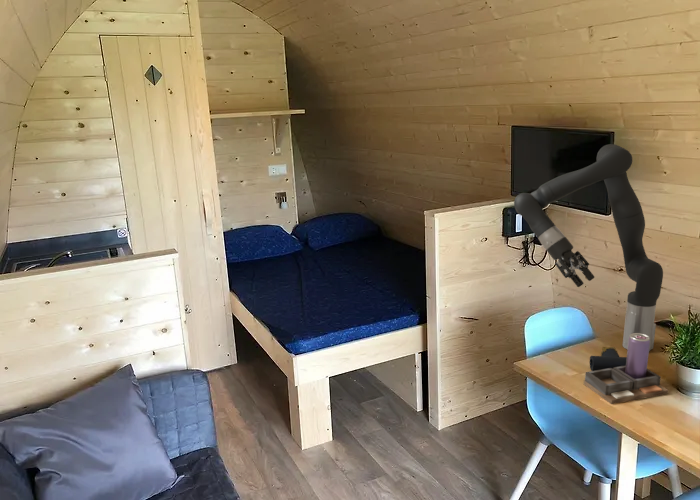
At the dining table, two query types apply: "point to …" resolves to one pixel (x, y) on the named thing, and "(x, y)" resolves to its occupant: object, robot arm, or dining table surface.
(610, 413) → the dining table surface
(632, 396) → the socket board
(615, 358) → the pipe connector
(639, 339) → the beverage can
